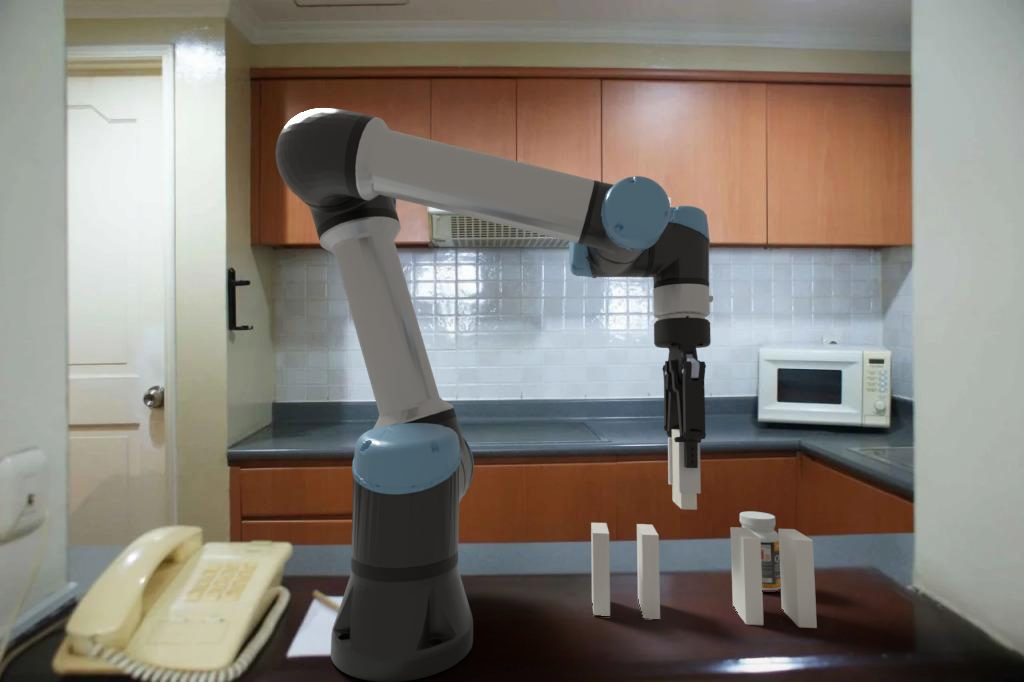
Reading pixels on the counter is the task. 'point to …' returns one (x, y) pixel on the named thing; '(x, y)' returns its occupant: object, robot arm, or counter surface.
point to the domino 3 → (678, 498)
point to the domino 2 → (648, 571)
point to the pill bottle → (765, 546)
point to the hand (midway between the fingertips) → (683, 488)
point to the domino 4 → (747, 575)
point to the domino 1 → (600, 569)
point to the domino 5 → (797, 577)
